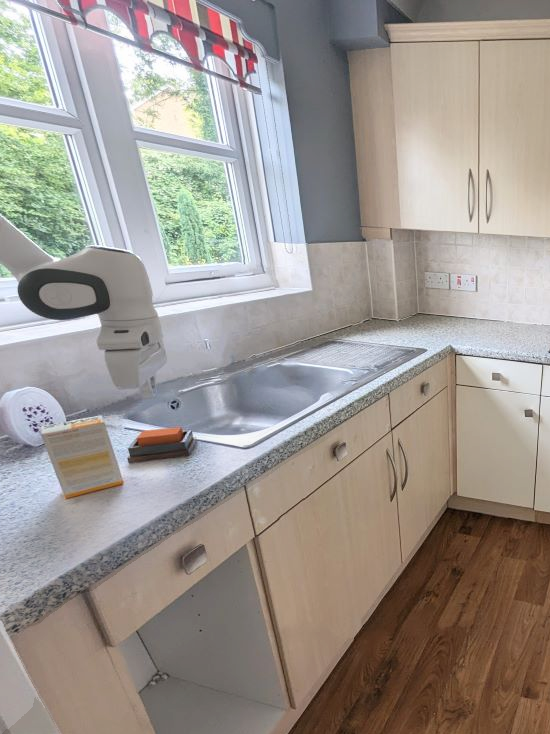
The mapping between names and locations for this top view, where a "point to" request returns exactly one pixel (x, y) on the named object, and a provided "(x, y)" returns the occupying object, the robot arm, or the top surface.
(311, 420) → the top surface
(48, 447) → the supplement box
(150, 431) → the block
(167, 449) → the dark grey tray
